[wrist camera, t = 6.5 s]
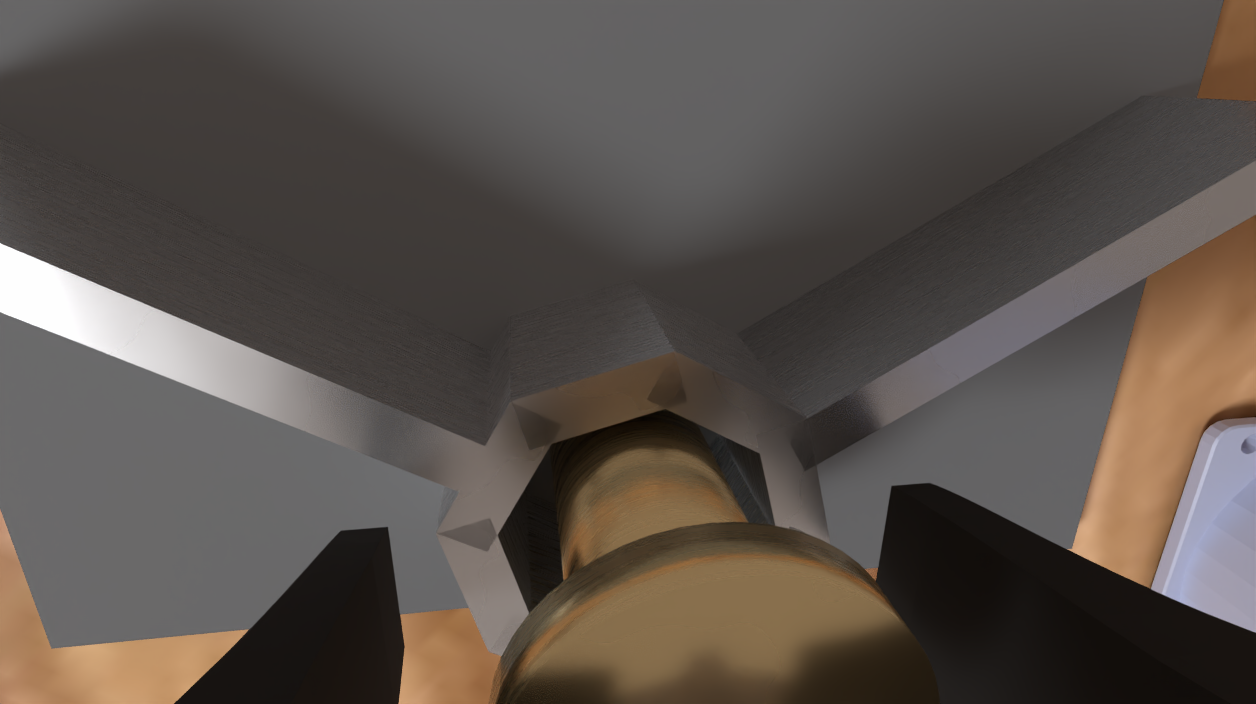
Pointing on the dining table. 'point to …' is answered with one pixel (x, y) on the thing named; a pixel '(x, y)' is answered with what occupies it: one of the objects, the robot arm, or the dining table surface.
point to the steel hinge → (617, 329)
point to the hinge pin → (696, 593)
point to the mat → (533, 241)
